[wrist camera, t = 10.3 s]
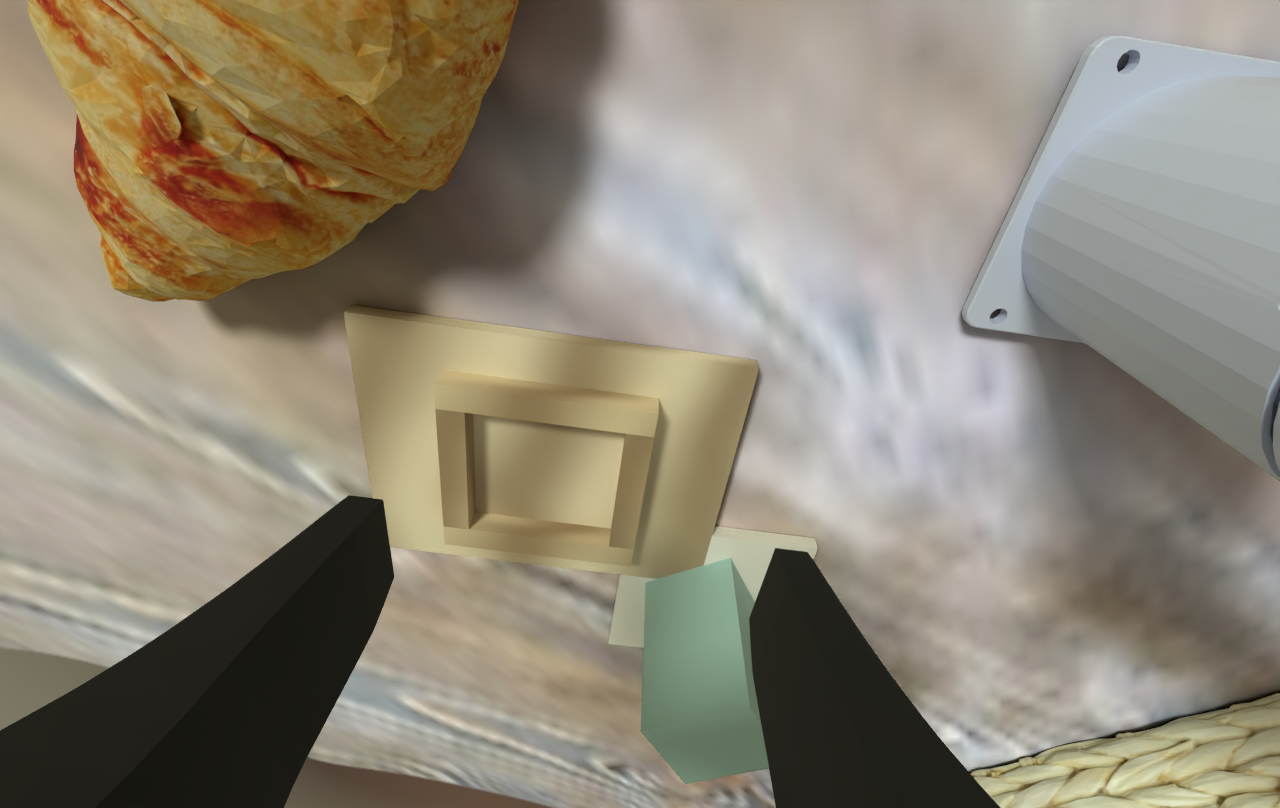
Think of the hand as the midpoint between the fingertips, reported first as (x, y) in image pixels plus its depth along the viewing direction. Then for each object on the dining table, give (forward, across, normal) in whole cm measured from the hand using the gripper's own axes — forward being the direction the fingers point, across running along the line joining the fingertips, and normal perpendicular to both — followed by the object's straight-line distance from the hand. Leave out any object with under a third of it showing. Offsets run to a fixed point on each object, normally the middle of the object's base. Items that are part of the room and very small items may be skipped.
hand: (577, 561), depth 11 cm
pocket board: (+10, +2, +6) cm, 12 cm away
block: (+10, -5, +12) cm, 17 cm away
